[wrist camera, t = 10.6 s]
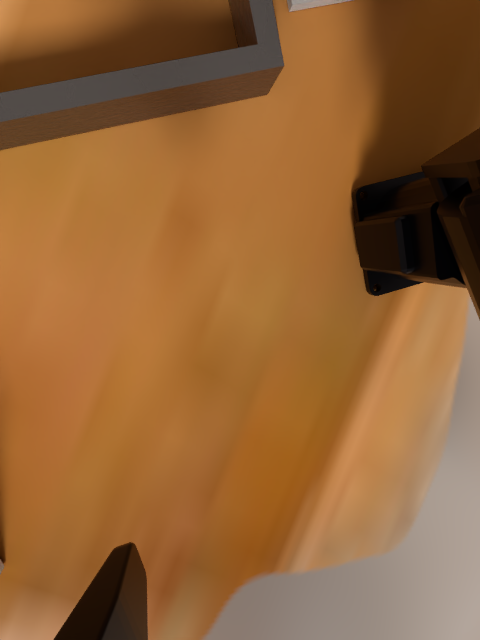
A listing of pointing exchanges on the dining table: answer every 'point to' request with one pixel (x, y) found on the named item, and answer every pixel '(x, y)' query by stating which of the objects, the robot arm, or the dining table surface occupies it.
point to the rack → (150, 86)
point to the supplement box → (1, 566)
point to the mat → (310, 3)
